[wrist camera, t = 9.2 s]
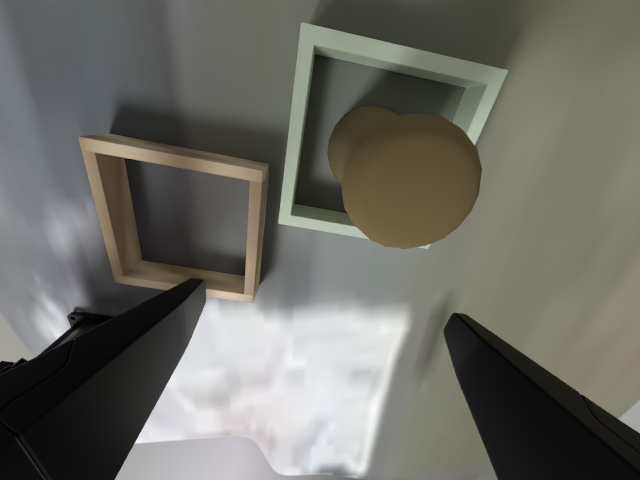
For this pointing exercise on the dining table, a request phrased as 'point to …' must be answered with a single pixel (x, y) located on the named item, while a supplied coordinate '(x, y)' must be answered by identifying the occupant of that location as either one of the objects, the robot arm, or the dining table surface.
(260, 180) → the bin
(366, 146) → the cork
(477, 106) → the bin
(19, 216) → the dining table surface
